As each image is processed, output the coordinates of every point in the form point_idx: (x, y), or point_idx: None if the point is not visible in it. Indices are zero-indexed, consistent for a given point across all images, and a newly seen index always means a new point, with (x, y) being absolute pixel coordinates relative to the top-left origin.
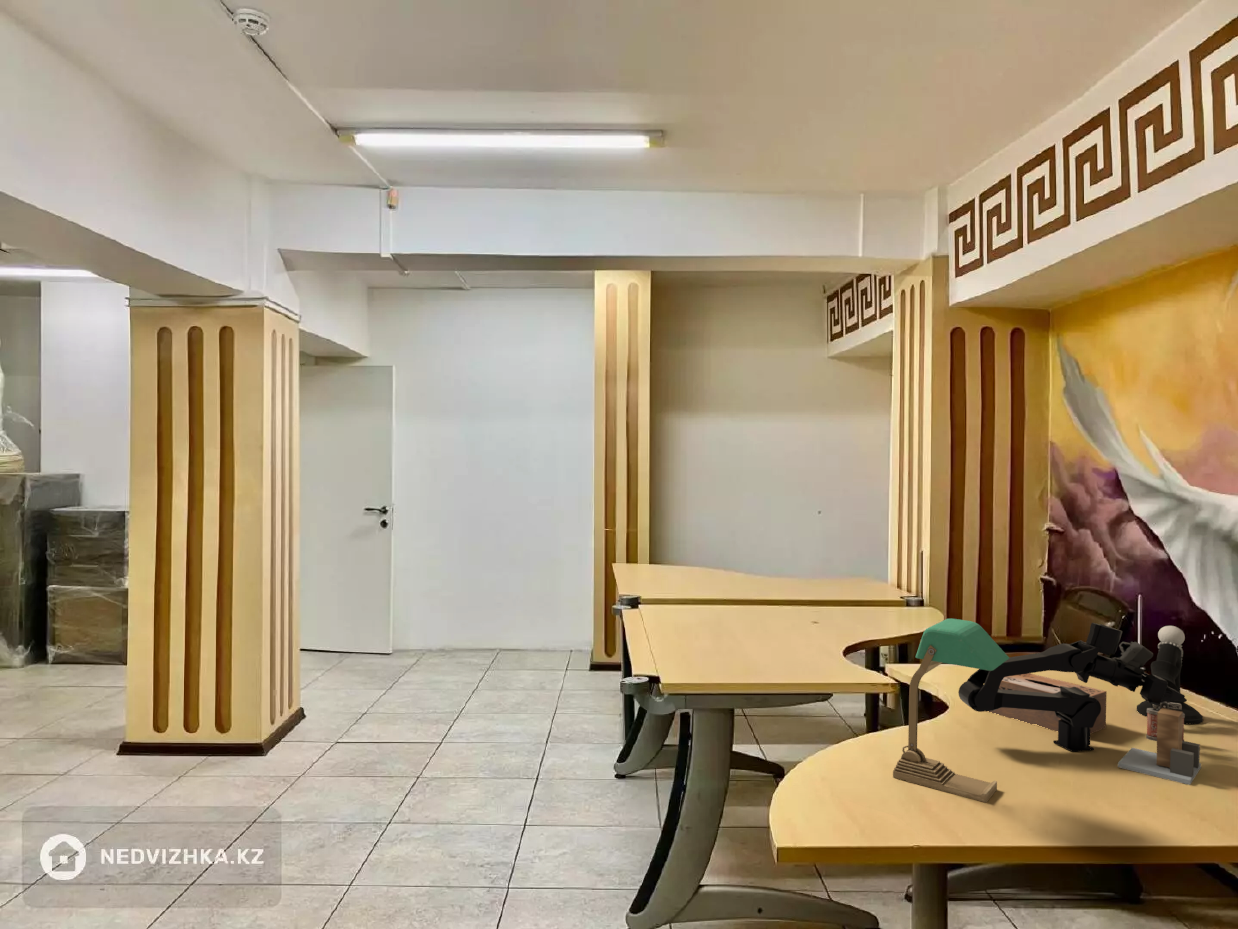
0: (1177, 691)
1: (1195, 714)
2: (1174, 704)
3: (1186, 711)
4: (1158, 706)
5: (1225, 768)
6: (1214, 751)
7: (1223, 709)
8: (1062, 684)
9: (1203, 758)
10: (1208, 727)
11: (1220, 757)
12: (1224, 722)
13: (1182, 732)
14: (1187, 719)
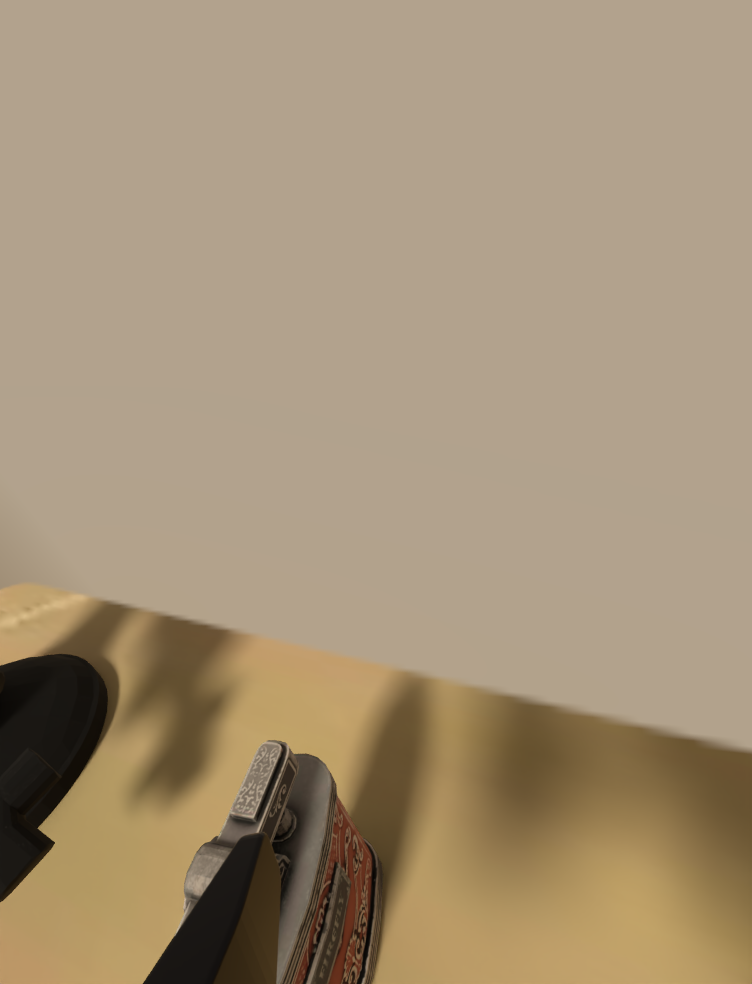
0: (3, 681)
1: (70, 673)
2: (267, 791)
3: (48, 697)
4: (41, 855)
5: (717, 754)
6: (440, 727)
7: (17, 590)
8: None
9: (597, 820)
10: (147, 665)
11: (524, 726)
12: (112, 611)
13: (357, 830)
14: (87, 716)
